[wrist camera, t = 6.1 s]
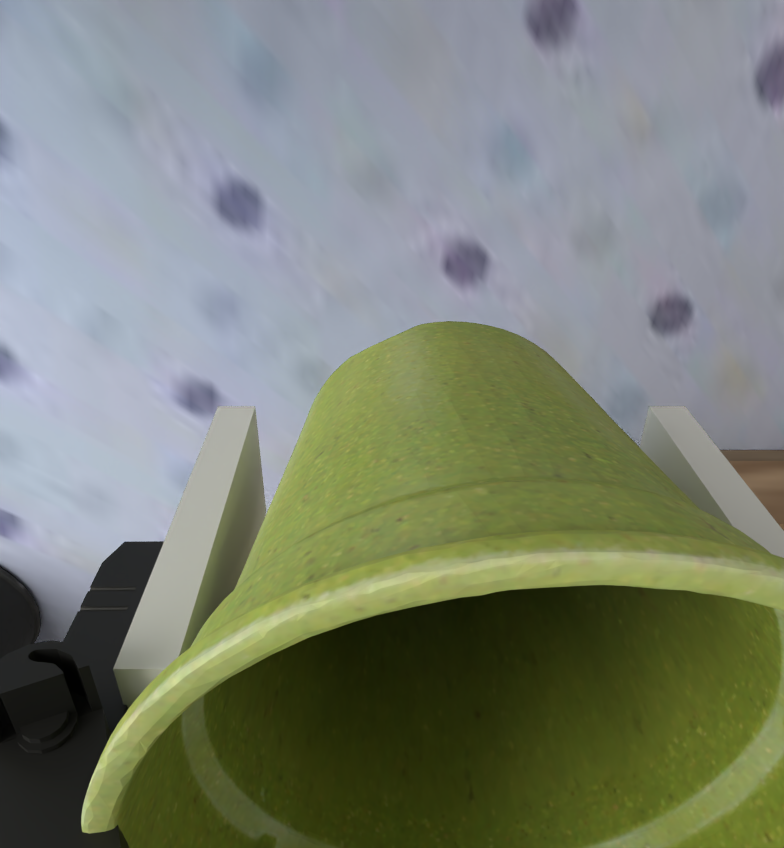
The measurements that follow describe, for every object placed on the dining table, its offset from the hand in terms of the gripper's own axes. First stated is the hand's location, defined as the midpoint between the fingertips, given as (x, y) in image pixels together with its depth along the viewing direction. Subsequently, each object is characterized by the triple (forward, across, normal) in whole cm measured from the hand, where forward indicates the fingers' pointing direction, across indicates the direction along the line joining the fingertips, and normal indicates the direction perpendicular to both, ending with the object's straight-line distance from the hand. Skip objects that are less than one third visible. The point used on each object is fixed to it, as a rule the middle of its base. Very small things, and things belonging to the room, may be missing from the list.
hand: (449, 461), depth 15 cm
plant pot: (+1, 0, 0) cm, 1 cm away
